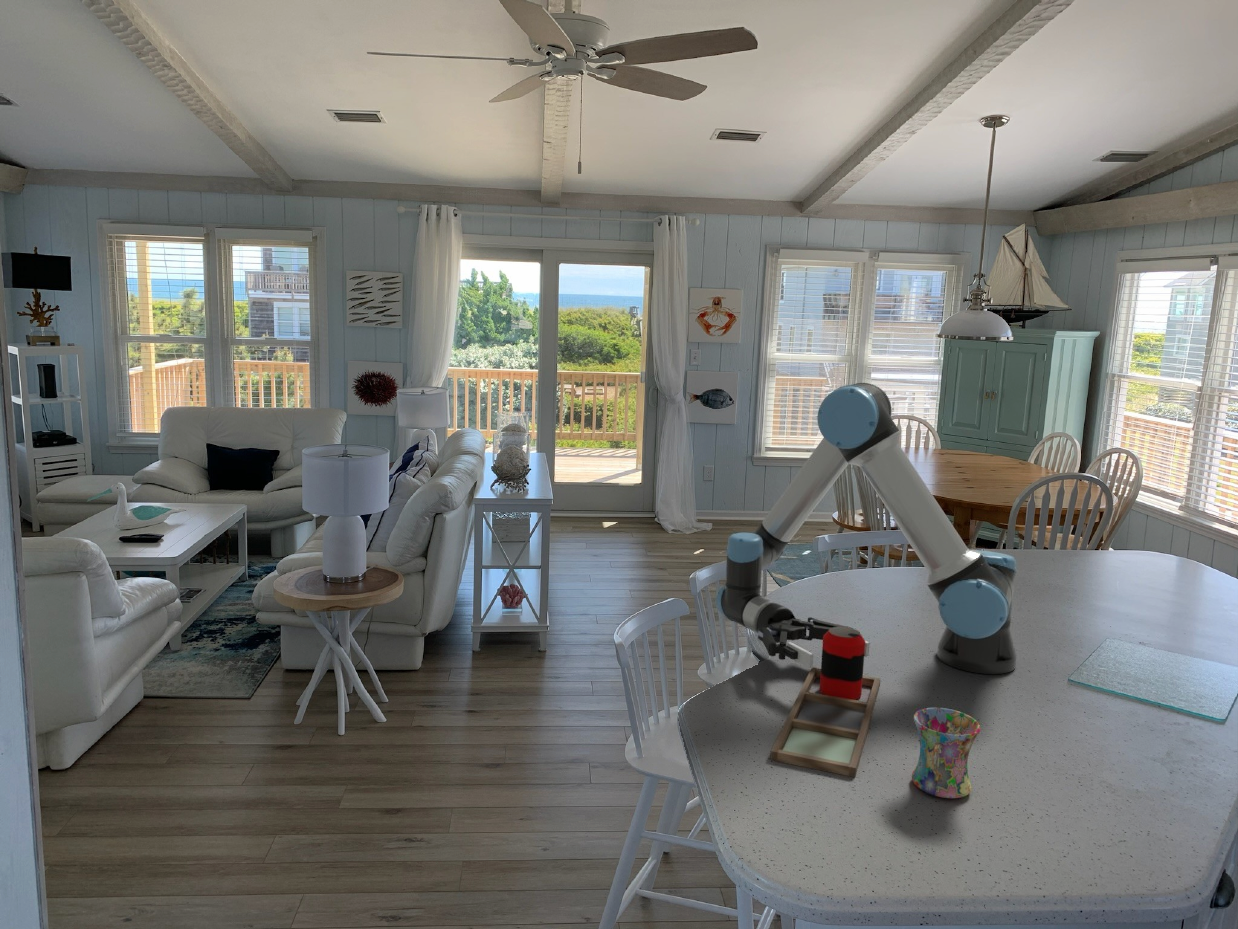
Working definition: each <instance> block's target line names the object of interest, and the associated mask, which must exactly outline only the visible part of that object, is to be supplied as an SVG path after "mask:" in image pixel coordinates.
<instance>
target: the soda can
mask: <svg viewBox="0 0 1238 929" xmlns="http://www.w3.org/2000/svg"><path fill="white" fill-rule="evenodd" d="M848 627H849V626H848ZM848 627H833V628H830V629H829V631H828V632H827V633H826V634H825V635H824V636H823V640H822V646H821V647H822V648H821V649H822V650H821V662H820V663H821V664H820V669H821V678H819V691H820V692H821V694H823V695H828V696H834V697H840V698H845V699H851V700H858V699H859V698H860V697H861V696H862V691H863V685H862V680H863V676H864V675H863V674H864V663H865V662H864V661H865V656H864V652H865V641H866V640H865V639H864V637H863V635H862V634H861V632H860V631H859V630H858V629H855V628H853V627H851V628H848ZM852 628H853V629H852Z"/></svg>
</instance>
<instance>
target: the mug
mask: <svg viewBox="0 0 1238 929" xmlns="http://www.w3.org/2000/svg"><path fill="white" fill-rule="evenodd" d="M913 722H914V724H915V727H916V729H917V733H918V737H919V738H918V739H919V756H918V757H919V758H918V762H917V764H916V766H915V769H914V770H913V771H912V773H911V780H912V782H913V784H914V785H915V786H916V787H917V788H919V790H921V791H923V792H925V793H927V794H930V795H931V796H935V797H938V798H942V799H958V798H964V797H966V796H968V795H969V794H970V793H971V792H972V789H973V787H972V786H973V785H972V783H971V780H970V777H969V770H968V769H969V768H968V760H969V755H970V751H971V750H972V749H971V748H972V746H973V744H974V742H975V739H976V738H977V736H978V735H979V733H980V732H981V725H980V723H979V722H978V720H976V719H975V718H974V717H972V716H970V715H969V714H967V713H964V712H961V711H958V710H955V709H950V708H945V707H927V708H926V707H925V708H921V709H919V710H916V712H915V713H914V715H913Z"/></svg>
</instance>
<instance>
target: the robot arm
mask: <svg viewBox="0 0 1238 929" xmlns="http://www.w3.org/2000/svg"><path fill="white" fill-rule="evenodd" d="M891 403H892V402H891V400H890V398H889V396H888V395H887V393H886V392H885V391H884V390H883V389H882V388H881V387H878V386H877V385H876V384H873V383H868V382H858V383H853V384H846V385H842V386H840V387H838V388H837V389H834V390H833V391H832V392H830V393H829V394H827V395H826V396H825V398H824V399H823V400H822V402H821V403H820V405H819V408H818V410H817V411H818V412H817V418H816V419H817V426H818V427H817V428H818V429H819V431H820V433H821V435H822V437H823V438H822V439H821V440H820V442H819V444H818V445H817V446H816V447H815V449H814V450H813V451H812V453H811V454H810V455H809V457H808V459H807V460H806V461H805V463H804V464H803V465H802V467H801V468H800V469H799V471H798V472H797V473H796V475H795V476H794V478H793V479H792V480H791V482H790V483H789V484H788V486H787V487H786V488H785V490H784V491H783V493H782V494H781V496H780V497H779V498H778V500H777V501H776V502H775V503H774V505H773V506H772V508H771V509H770V510H769V512H768V513H767V514H766V516H765V517H764V519H763V520H762V521H761V523H760V524H759V525H758V527H757V528H756V529H755V531H754V532H737V533H736V532H735V533H732V534H731V535H730V536H729V537H728V538H727V540H728V541H727V547H726V570H725V571H726V572H725V584H723V585H722V586H721V587H720V588H719V590H718V592H717V594H716V596H715V601H714V602H715V603H714V604H715V607H716V610H717V611H718V612H719V613H720V614H721V615H723V616H724V617H725V618H727V620H729V621H731V622H733V623H736V624H738V625H741V626H742V627H745V629H747V630H750V631H751V632H753V633H755V634H757V639H758V640H759V641H760V642H762V643H763V645H764V647H765V650H766V651H767V654H768V655H769V656H770V657H775V656H776V655H777V654H778V659H779V660H782V661H784V660H786V658H789V659H790V660H792V661H795V662H796V663H798V664H801V665H802V666H804V667H805V668H807V669H810V670H811V668H814V666H813V664H814V653H812V652H810V651H809V650H807V649H805V648H803V647H801V646H799V645H797V644H795V643H793V642H791V641H798V640H802V641H803V640H804V641H813V640H820V641H823V636H824V635H825V634H826V633H827V632H828V631H829V629H830V628H833V627H848V628H852V629H854V628H853V627H851V626H847V625H842V624H837V623H832V622H828V621H824V620H819V619H817V618H815V617H811V616H810V617H807V621H805V620H802V619H798V618H796V616H795V615H794V613H793V611H792V610H791V609H789V608H788V607H786V606H783V605H781V604H779V603H777V602H775V601H774V600H771V599H770V598H766V597H765V596H762V595H761V589H762V573H763V570H764V569H766V568H767V567H768V566H770V565H771V564H773V563H775V562H776V561H778V560H779V559H780V558H781V557H782V555H783V554H784V552H785V549H786V547H787V546H788V544H789V543H790V541H791V540H792V539H793V537H794V536H795V535H796V533H798V531H799V529H800V528H802V526H803V524H804V523H805V522H806V521H807V519H808V518H809V516H810V515H811V514H812V513H813V511H814V510H815V509H816V507H817V506H818V504H820V502H821V501H822V499H823V498H824V497H825V495H826V494H827V493H828V492H829V490H830V489H831V488H832V487H833V485H834V484H835V482H836V481H837V480H838V478H839V477H840V476H841V475H842V473H843V472H844V471H845V469H846V468H847V467H848V466H849V465H853V466H858V467H859V468H860V469H861V471H862V473H863V475H865V477H866V478H867V480H868V482H869V483H870V485H871V486H872V488H873V490H874V491H875V492H876V494H877V495H878V497H879V498H880V500H881V502H882V503H883V505H884V506H885V508H886V509H887V511H888V513H890V516H891V517H892V518H893V520H894V522H895V523H896V525H897V526H898V528H899V529H900V531H901V532H902V534H903V536H904V538H906V540H907V542H908V543H909V545H910V546H911V548H912V549H913V551H914V553H915V554H916V556H917V557H918V558H919V560H920V562H921V563H922V565H923V566H924V568H925V570H926V571H927V576H926V579H925V583H926V586H927V587H928V589H929V590H930V591H931V593H932V595H933V596H934V598H935V599H936V601H937V603H938V606H937V607H938V611H939V615H940V618H941V620H942V621H943V623H944V625H945V628H944V630H943V632H942V634H941V636H940V639H939V641H938V644H937V651H936V655H937V658H938V659H939V660H940V661H941V662H943V663H944V664H946V665H948V666H950V667H953V668H955V669H959V670H962V671H966V672H971V673H975V674H984V675H1000V674H1001V675H1002V674H1007V673H1010V672H1012V671H1014V670H1015V669H1016V665H1017V652H1016V648H1015V645H1014V644H1015V643H1014V639H1013V636H1012V632H1011V622H1012V612H1013V611H1012V610H1013V600H1014V593H1015V592H1014V591H1015V583H1016V582H1015V581H1016V574H1017V572H1018V569H1017V560H1016V559H1015V557H1014V556H1012V555H1010V554H1006V553H1001V552H997V551H989V550H981V549H970V548H968V547H967V545H966V544H965V542H964V541H963V539H962V537H961V535H960V534H959V533H958V531H957V529H955V527H954V525H953V524H952V523H951V520H950V519H949V518H948V516H947V515H946V513H945V512H944V510H943V509H942V507H941V506H940V504H939V503H938V501H937V500H936V498H935V497H934V495H933V493H932V492H931V491H930V489H929V487H928V486H927V485H926V483H925V481H924V480H923V478H922V477H921V476H920V474H919V472H918V471H917V469H916V468H915V467H914V465H913V464H912V462H911V460H910V459H909V457H908V456H907V454H906V453H905V451H904V450H903V448H902V447H901V445H900V444H899V439H900V434H901V431H900V429H899V428H898V426H897V424H896V423H895V422H894V420H893V418H892V412H893V411H892V410H893V409H892V404H891ZM807 631H808V635H807ZM788 641H789V642H788ZM870 644H871V643H870V641H867V640H865V652H864V658H865V657H869V656H870Z"/></svg>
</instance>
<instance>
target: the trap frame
mask: <svg viewBox="0 0 1238 929" xmlns="http://www.w3.org/2000/svg"><path fill="white" fill-rule="evenodd" d="M816 678H819V679H820V678H821V668H818V667H813V668H810V671H809V672H808V675H807V676H806V678H805V680H804V682H803V685H802V687H801V689H800V691H799V693H798V696H797V697H796V698H795V701H794V703H793V706H792V708H791V710H790V712H789V713H788V715H787V718H786V720H785V723H783V726H782V729H781V730H780V732H779V735H778V736H777V739H776V741H775V743H774V745H773V747H772V749H771V752H770V760H771V761H774V762H780V763H785V764H789V765H794V766H798V767H799V766H800V767H804V768H809V769H813V770H818V771H822V772H823V771H824V772H828V773H833V774H837V775H842V776H848V777H850V778H851V777H853V778H856V776H857V772H858V769H859V766H860V762H861V757H862V755H863V751H862V750H864V746H865V744H866V740H865V739H867V736H868V731H869V727H870V724H871V720H872V717H873V714H874V708H875V706H876V702H877V698H878V695H879V691H880V688H881V678H878V677H872V676H866V675H863V680H862V686H864V687H870V686H871V687H870V688H871V691H870V694H869V696H868V697H869V698H868V701H867V702H866V701H861V700H858V699H856V700H851V699H845V698H840V697H834V696H828V695H823V694H822V693H817V692H810V691H811V688H812V686H813V684H814V682H815V679H816ZM879 687H880V688H879Z"/></svg>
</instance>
